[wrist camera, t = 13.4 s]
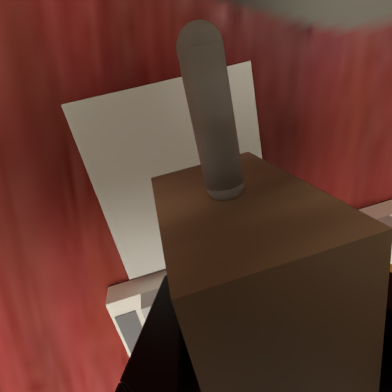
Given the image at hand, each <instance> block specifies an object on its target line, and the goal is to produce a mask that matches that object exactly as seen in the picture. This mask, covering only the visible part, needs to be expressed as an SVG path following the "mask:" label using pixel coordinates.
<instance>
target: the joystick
mask: <svg viewBox="0 0 392 392" xmlns="http://www.w3.org/2000/svg"><path fill="white" fill-rule="evenodd" d="M176 52H177V57H178V62H179V66H180V71H181V76H182V80H183V85H184V89H185V94H186V99H187V103H188V108H189V113H190V117H191V122H192V127H193V131H194V136H195V141H196V145H197V150H198V154H199V159H200V165H197V166H193V167H189V168H186V169H182V170H178V171H174V172H171V173H167V174H163V175H160V176H156V177H152V178H151V182H152V188H153V194H154V200H155V206H156V212H157V218H158V224H159V230H160V236H161V242H162V248H163V254H164V260H165V266H166V272H167V278H168V284H169V290H170V296H171V301H172V304H173V307H174V310H175V313H176V316H177V319H178V322H179V325H180V328H181V332H182V335H183V338H184V341H185V344H186V347H187V350H188V353H189V356H190V359H191V362H192V365H193V368H194V371H195V374H196V377H197V380H198V383H199V386H200V389H201V392H379V385H380V374H381V362H382V351H383V340H384V329H385V317H386V306H387V295H388V283H389V272H390V261H391V249H392V228H391V227H389V226H388V225H386V224H384V223H382V222H380V221H378V220H376V219H374V218H373V217H371V216H369V215H367V214H365V213H363V212H361V211H359V210H357V209H356V208H354V207H352V206H350V205H348V204H346V203H344V202H342V201H341V200H339V199H337V198H335V197H333V196H331V195H329V194H327V193H326V192H324V191H322V190H320V189H318V188H316V187H314V186H312V185H310V184H309V183H307V182H305V181H303V180H301V179H299V178H297V177H295V176H294V175H292V174H290V173H288V172H286V171H284V170H282V169H280V168H278V167H277V166H275V165H273V164H271V163H269V162H267V161H265V160H263V159H262V158H260V157H258V156H256V155H254V154H252V153H250V152H245V153H241V154H240V150H239V143H238V137H237V130H236V124H235V117H234V111H233V104H232V97H231V91H230V84H229V78H228V71H227V65H226V58H225V52H224V45H223V40H222V36H221V34H220V32H219V30H218V29H217V27H216V26H215V25H213V24H212V23H210V22H209V21H206V20H193V21H191V22H189V23H188V24H186V25H185V26H184V27H183V28H182V30H181V31H180V33H179V35H178V37H177V42H176Z"/></svg>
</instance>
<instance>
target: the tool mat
mask: <svg viewBox="0 0 392 392" xmlns="http://www.w3.org/2000/svg"><path fill="white" fill-rule="evenodd" d="M227 71H228V78H229V84H230V91H231V97H232V104H233V111H234V117H235V124H236V130H237V137H238V143H239V150H240V154H241V153H245V152H250V153H252V154H254V155H256V156H258V157H260V158H262V153H261V144H260V136H259V127H258V119H257V110H256V102H255V94H254V85H253V77H252V68H251V61H248V62H243V63H239V64H235V65H230V66H227ZM61 107H62V109H63V112H64V114H65V117H66V119H67V122H68V124H69V127H70V130H71V132H72V135H73V137H74V140H75V142H76V145H77V147H78V150H79V152H80V155H81V157H82V160H83V163H84V165H85V168H86V170H87V173H88V175H89V178H90V180H91V183H92V185H93V188H94V191H95V193H96V196H97V198H98V201H99V203H100V206H101V208H102V211H103V213H104V216H105V218H106V221H107V224H108V226H109V229H110V231H111V234H112V236H113V239H114V241H115V244H116V246H117V249H118V252H119V254H120V257H121V259H122V262H123V264H124V267H125V269H126V272H127V274H128V277H129V280H130V279H133V278H136V277H140V276H143V275H146V274H149V273H153V272H156V271H159V270H162V269H166V266H165V260H164V254H163V248H162V242H161V236H160V230H159V224H158V218H157V212H156V206H155V200H154V194H153V188H152V182H151V178H152V177H156V176H160V175H163V174H167V173H171V172H174V171H178V170H182V169H186V168H189V167H193V166H197V165H200V159H199V154H198V150H197V145H196V141H195V136H194V131H193V127H192V122H191V117H190V113H189V108H188V103H187V99H186V94H185V89H184V85H183V80H182V77H178V78H174V79H170V80H165V81H161V82H157V83H152V84H148V85H144V86H139V87H135V88H131V89H126V90H122V91H118V92H113V93H109V94H105V95H100V96H96V97H92V98H87V99H83V100H79V101H74V102H70V103H66V104H61Z"/></svg>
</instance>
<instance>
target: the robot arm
mask: <svg viewBox="0 0 392 392" xmlns="http://www.w3.org/2000/svg"><path fill="white" fill-rule="evenodd" d="M120 382H121V383H119V384H118V386H117V388H116V390H115V392H201V389H200V386H199V383H198V380H197V377H196V374H195V371H194V368H193V365H192V362H191V359H190V356H189V353H188V350H187V347H186V344H185V341H184V338H183V335H182V332H181V328H180V325H179V322H178V319H177V316H176V313H175V310H174V307H173V304H172V301H171V296H170V290H169V284H168V278H167V275H165V276H164V278H163V280H162V283H161V285H160V287H159V290H158V292H157V294H156V297H155V299H154V301H153V304H152V306H151V309H150V311H149V313H148V316H147V318H146V320H145V323H144V325H143V327H142V330H141V332H140V334H139V337H138V339H137V341H136V344H135V346H134V349H133V351H132V353H131V356H130V358H129V360H128V363H127V365H126V367H125V370H124V372H123V374H122V377H121V379H120ZM379 392H392V272H389V283H388V295H387V306H386V317H385V329H384V340H383V351H382V362H381V374H380V385H379Z"/></svg>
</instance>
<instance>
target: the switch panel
mask: <svg viewBox="0 0 392 392" xmlns="http://www.w3.org/2000/svg"><path fill="white" fill-rule="evenodd" d="M359 211H361V212H363V213H365V214H367V215H369V216H371V217H373V218H374V219H376V220H378V221H380V222H382V223H384V224H386V225H388V226H389V227H391V228H392V199H391V200H388V201H385V202H382V203H378V204H375V205H372V206H369V207H366V208H362V209H359ZM390 264H392V249H391V261H390ZM165 275H167V272H166V269H165V270H162V271H159V272H156V273H152V274H149V275H146V276H143V277H139V278H136V279H133V280H130V281H127V282H123V283H120V284H117V285H114V286H110V287H108V291H107V298H106V307H107V309H108V311H109V314H110V316H111V318H112V320H113V322H114V324H115V327H116V329H117V331H118V333H119V335H120V337H121V340H122V342H123V344H124V346H125V348H126V351H127V353H128V355H129V357H130V356H131V353H132V351H133V349H134V346H135V344H136V341H137V339H138V337H139V334H140V332H141V330H142V327H143V325H144V323H145V320H146V318H147V316H148V313H149V311H150V309H151V306H152V304H153V301H154V299H155V297H156V294H157V292H158V290H159V287H160V285H161V283H162V280H163V278H164V276H165Z"/></svg>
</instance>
